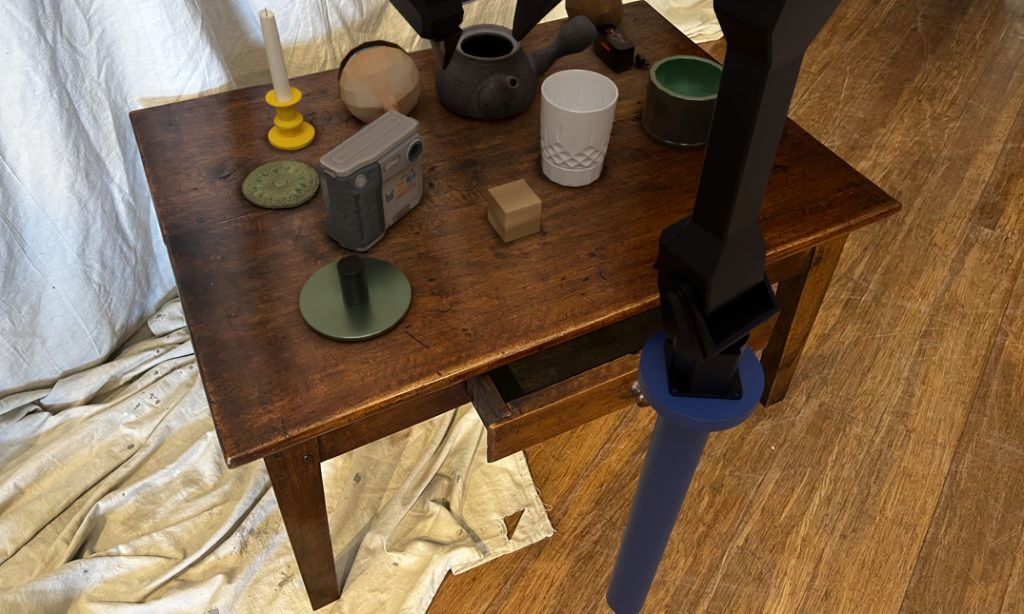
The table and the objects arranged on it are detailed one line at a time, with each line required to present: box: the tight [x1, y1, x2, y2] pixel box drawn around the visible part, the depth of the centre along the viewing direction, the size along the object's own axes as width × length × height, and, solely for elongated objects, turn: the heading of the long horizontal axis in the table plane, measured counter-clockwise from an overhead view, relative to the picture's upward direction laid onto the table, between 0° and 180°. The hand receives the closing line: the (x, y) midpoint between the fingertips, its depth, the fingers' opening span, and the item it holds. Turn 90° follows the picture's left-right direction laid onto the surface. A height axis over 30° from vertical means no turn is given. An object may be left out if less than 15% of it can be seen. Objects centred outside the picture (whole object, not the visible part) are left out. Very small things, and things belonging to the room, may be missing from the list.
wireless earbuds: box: [592, 24, 651, 72], centre depth 103 cm, size 5×7×3 cm, turn 26°
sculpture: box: [336, 39, 421, 124], centre depth 90 cm, size 9×9×15 cm
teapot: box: [434, 15, 597, 120], centre depth 93 cm, size 19×16×10 cm
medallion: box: [241, 159, 320, 209], centre depth 84 cm, size 8×8×1 cm
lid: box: [298, 254, 413, 342], centre depth 72 cm, size 10×10×5 cm
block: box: [487, 178, 543, 244], centre depth 80 cm, size 4×4×4 cm
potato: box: [564, 0, 625, 28], centre depth 107 cm, size 8×12×8 cm
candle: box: [258, 7, 316, 151], centre depth 85 cm, size 5×5×16 cm
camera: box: [316, 111, 425, 253], centre depth 78 cm, size 11×6×10 cm, turn 143°
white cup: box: [540, 69, 619, 188], centre depth 85 cm, size 8×8×10 cm
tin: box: [641, 54, 723, 149], centre depth 92 cm, size 9×9×6 cm
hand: (479, 52), depth 79 cm, fingers open, 9 cm apart
